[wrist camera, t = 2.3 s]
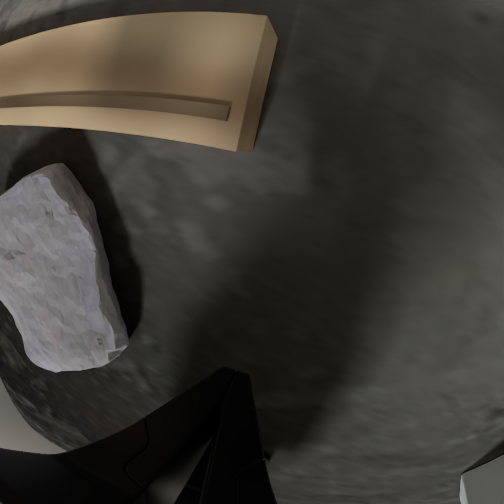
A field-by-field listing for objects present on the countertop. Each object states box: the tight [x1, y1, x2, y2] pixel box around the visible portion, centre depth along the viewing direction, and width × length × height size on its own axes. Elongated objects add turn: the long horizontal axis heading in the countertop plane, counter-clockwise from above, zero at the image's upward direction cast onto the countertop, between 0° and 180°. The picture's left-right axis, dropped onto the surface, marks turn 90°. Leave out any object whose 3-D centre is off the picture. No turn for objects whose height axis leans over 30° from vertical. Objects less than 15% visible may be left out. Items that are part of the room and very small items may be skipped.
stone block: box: [0, 163, 129, 372], centre depth 16 cm, size 12×5×10 cm
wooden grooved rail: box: [0, 12, 278, 152], centre depth 11 cm, size 5×26×4 cm, turn 78°
